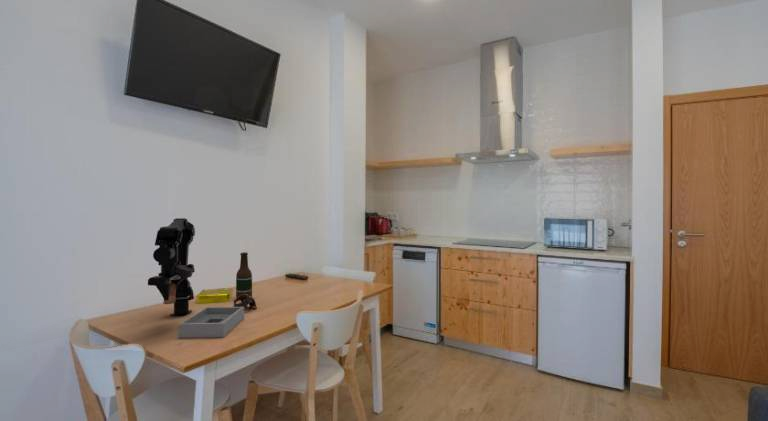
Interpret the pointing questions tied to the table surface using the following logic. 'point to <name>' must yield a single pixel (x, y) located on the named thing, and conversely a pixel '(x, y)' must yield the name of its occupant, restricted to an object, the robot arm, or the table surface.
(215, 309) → the socket box
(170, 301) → the peg
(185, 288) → the robot arm
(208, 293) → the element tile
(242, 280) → the beer bottle
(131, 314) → the table surface
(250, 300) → the dark brown openwork arch
